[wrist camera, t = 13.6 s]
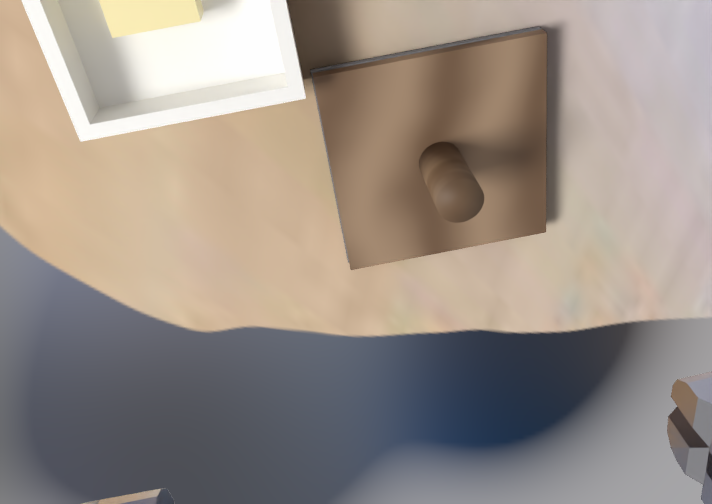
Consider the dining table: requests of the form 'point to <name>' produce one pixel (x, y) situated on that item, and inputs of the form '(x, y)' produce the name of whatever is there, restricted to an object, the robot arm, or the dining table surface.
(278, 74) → the dish
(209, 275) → the dining table surface
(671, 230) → the dining table surface
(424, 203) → the lid
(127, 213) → the dining table surface
